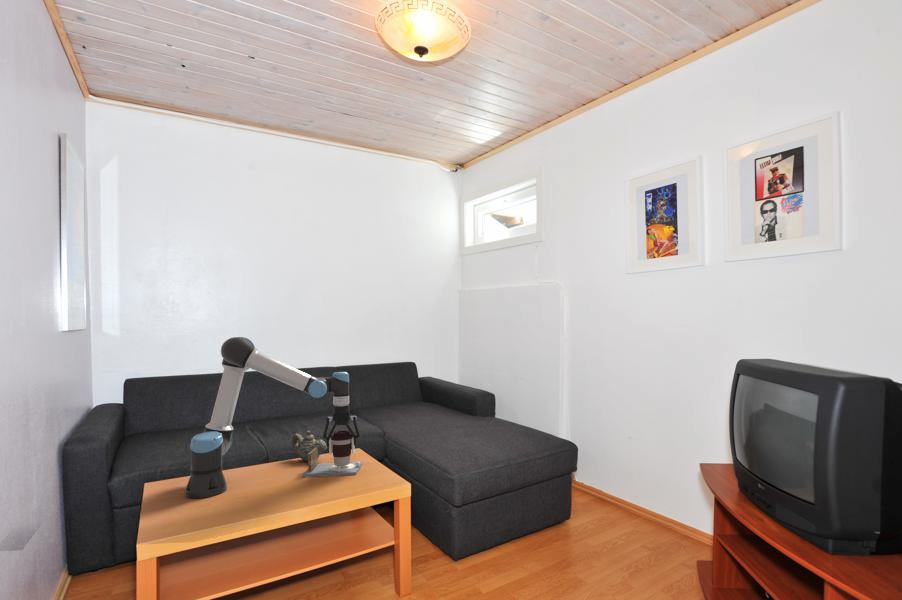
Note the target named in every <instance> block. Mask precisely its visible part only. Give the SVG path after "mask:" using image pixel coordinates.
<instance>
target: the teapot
mask: <svg viewBox="0 0 902 600" xmlns="http://www.w3.org/2000/svg"><path fill="white" fill-rule="evenodd" d="M291 446H292V448H293V450H294V451H295V452H296V453H297V456H298V457H299V458H300V459H301V460H302V461H304V462H307V461H308V454H309V453H310V452H311V451H312V450H313V449H314V448H316V447H318V458H319V457H320V455H321V453H323V452H325V451H327V449H328V447H327V442H325V440H323V439H315V436H314V434H311V430H307V431H306V434H305V435H304V436H302V435H301V434H300V433H294V434H293V437H292V441H291Z"/></svg>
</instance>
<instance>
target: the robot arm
mask: <svg viewBox="0 0 902 600" xmlns="http://www.w3.org/2000/svg"><path fill="white" fill-rule="evenodd" d="M220 347H221V348H220V354H221V358H222V361H221V366H222V368H223V372H222V375H221V379H220V383H219V388H218V391H217V395H216V399H215V403H214V407H213V411H212V414H211V418H210V422H208V423H207V424H205V426H204V430H203V432H201V433H197V434H195V435H194V436H193V437H192V438H191V439H190V444H189V445H190V447H189V448H190V476H189V479H188V481H187V485H186V488H185V491H184V492H185V493H184V494H185V495H184V497H186V498H188V499H202V498H208V497H209V498H210V497H214V496H216V495H220V494H223V493H224V492H225V491H227V488H228V487H227V486H228V485H227V484H228V483H227V480H226V478H225V474H224V472H223V456H224V455H225V454H227V452H228V451H229V450H230V448H231V447H232V444H233V434H234V426H233V425H232V422H233V418H234V414H235V410H236V406H237V402H238V398H239V394H240V391H241V387H242V384H243V380H244V376H245V372H247V371H248V370H250V369H251V370H253V371H256V372H258V373H260V374H263V375H264V376H267V377H270V378H272V379H275V380H276V381H279V382H281V383H284V384H286V385H288V386H291V387H292V388H294V389H297V390H300V391H302V392H304V393H306V394H307V395H310V396H311V397H313V398H315V399H319V398H322V397H324V396H325V394H331V393H332V394H333V395H332V400H333V401H332V405H333V407H332V411H333V412H332V413H333V414H332V416H327V417H326V423H325V427H324V432H323V435H322V438H323V439H325V440H326V446H327V448H328V449H329V450H328V452H329V453H328V454H329V455H332V454H333V449H332V443H333V442H332V440H331V436H332V435H334V432H335V430H336V428H337V426H345V427H346V428H347V431H349V432H350V434H351V435H352V436H353V438H352V439H351V442H352V444H351V454H355V453H356V450H355V448H356V447H355V446H357V444H358V440H357V439H358V438H360V437H361V435H362V433H361V432H360V428H359V425H358V421H357V417H358V416H357V415H351V414H350V408H351V407H350V374H349V373H348V372H347V371H337V372H333V373H332V376H325V377H324V376H323V377H315V376H313V375H310V374H308V373H307V372H304V371H302V370H299V369H298V368H295V367H294V366H293V367H292V366H291V365H288V364H287V363H284V362H281V361H279V360H277V359H275V358H273V357H270V356H268V355H266V354H264V353H262V352H259V351H258V348H256V347H255V344H254V343H253V341H252V340H250V339H249V338H247V337H243V336H235V337H230V338H228V339H226V340H225V341H224V342H223V343H222V345H221V346H220ZM350 419H351V421H352V423H353V426H354V429H353V427H352V425H351V423H350ZM332 421H333V422H334V423H333V426H332V427H331V429H329V427H330V424H331V422H332ZM329 430H330V431H329ZM354 430H355V431H354Z"/></svg>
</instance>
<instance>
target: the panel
mask: <svg viewBox="0 0 902 600" xmlns="http://www.w3.org/2000/svg"><path fill="white" fill-rule="evenodd" d="M318 464H319V457H318V447H316V448H314V449H313V450H312V451H311V452H310V453H309V454H308V467H307V469H308V472H311V471H312V470H313V469H314V468H315V467H316V466H317V465H318Z"/></svg>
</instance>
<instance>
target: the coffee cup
mask: <svg viewBox="0 0 902 600" xmlns="http://www.w3.org/2000/svg"><path fill="white" fill-rule="evenodd" d="M352 438H353V436H352V435H351V433H350V431H349V430H345V429H344V430H337V431H334V432H333V434H332V436H331V438H330V439H331V440H332V456H333V463H334V465H335V466H346V465H348V464H350V462H351V454H352Z"/></svg>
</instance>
